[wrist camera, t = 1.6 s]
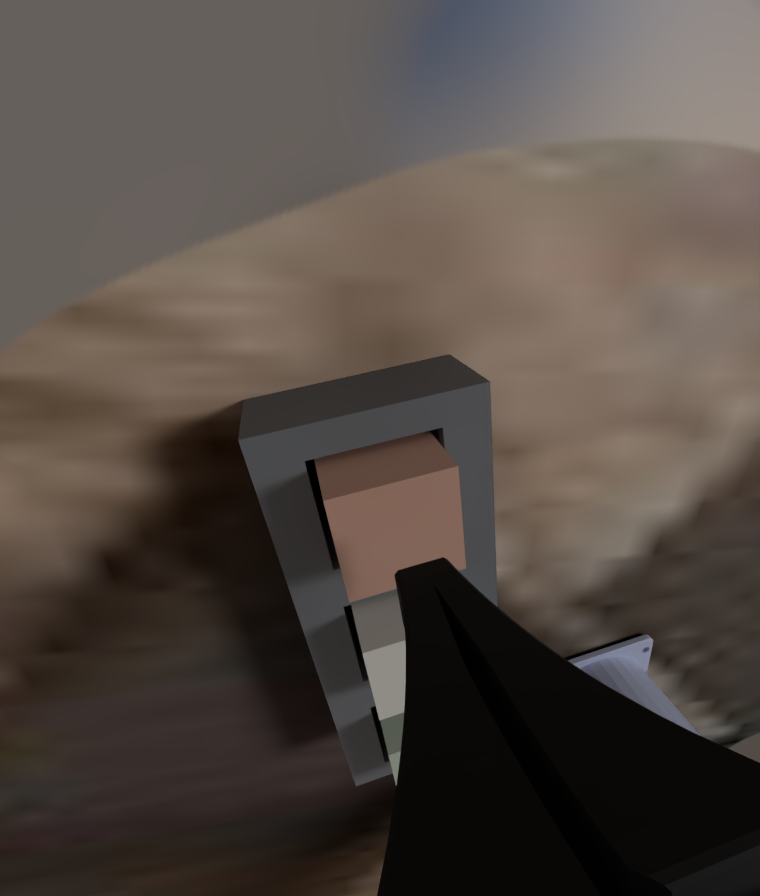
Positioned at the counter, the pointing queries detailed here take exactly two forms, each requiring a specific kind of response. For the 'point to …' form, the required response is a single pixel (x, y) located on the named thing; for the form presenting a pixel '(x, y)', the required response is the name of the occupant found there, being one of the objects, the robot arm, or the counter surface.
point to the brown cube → (391, 510)
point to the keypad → (308, 532)
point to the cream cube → (383, 651)
